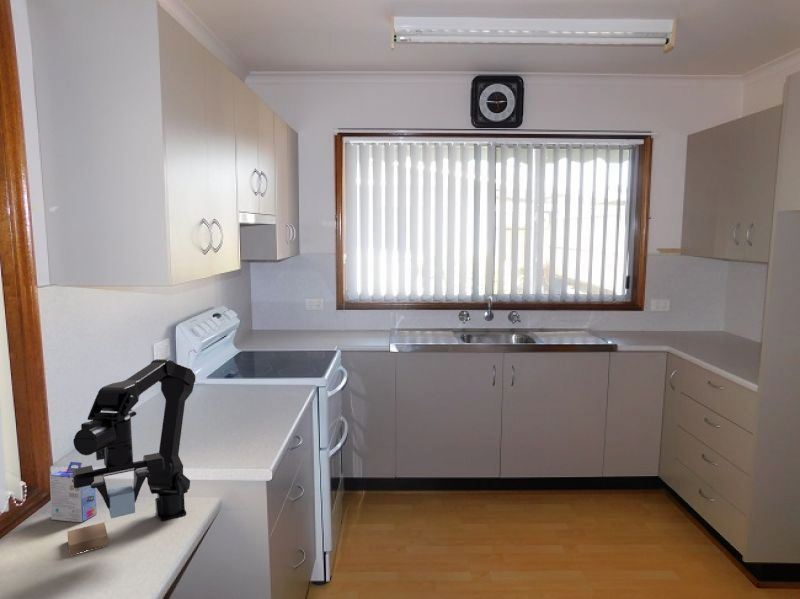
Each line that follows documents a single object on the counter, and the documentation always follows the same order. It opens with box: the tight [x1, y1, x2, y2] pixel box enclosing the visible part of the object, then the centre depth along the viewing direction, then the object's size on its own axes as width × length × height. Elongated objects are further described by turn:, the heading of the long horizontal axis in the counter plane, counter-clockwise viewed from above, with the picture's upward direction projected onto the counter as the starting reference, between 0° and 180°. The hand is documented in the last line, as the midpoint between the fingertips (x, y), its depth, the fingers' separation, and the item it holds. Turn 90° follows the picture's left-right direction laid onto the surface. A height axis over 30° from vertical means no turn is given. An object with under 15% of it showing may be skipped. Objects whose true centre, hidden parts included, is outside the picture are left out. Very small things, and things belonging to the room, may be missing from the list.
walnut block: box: [66, 521, 109, 557], centre depth 133 cm, size 8×8×3 cm
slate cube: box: [107, 484, 136, 519], centre depth 128 cm, size 5×5×5 cm
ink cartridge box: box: [49, 461, 98, 523], centre depth 146 cm, size 10×6×14 cm, turn 78°
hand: (121, 505), depth 128 cm, fingers closed on slate cube, 5 cm apart
